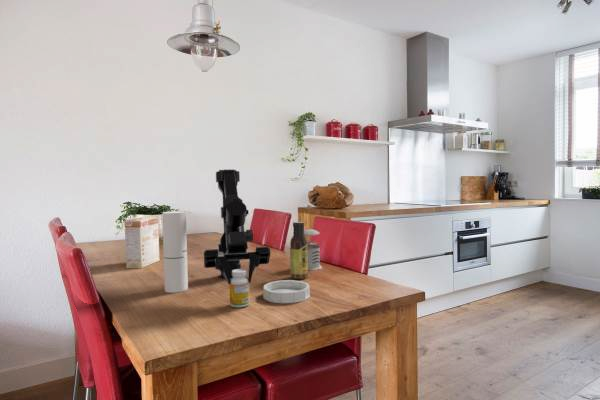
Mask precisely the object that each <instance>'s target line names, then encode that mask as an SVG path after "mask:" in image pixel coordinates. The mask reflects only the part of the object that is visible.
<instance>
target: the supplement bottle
mask: <svg viewBox="0 0 600 400" xmlns="http://www.w3.org/2000/svg"><path fill="white" fill-rule="evenodd" d="M232 276H233V278H230V284H229V305H230V306H231V308H245V307H247V306H249V304H250V283H249V279H248V277H247V269H245V268H241V269H235V270H232Z"/></svg>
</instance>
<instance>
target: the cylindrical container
mask: <svg viewBox="0 0 600 400" xmlns="http://www.w3.org/2000/svg"><path fill="white" fill-rule="evenodd" d="M187 236H188V235H187V211H179V210H177V211H176V210H175V211H163V212H162V246H163V250H162V251H163V272H164V273H163V276H164V277H163V278H164V292H166V293H168V294H169V293H174V294H175V293H181V292H185V291H187V290H188V289H189V283H188V280H189V279H188V277H189V276H188V274H189V273H188V245H187V244H188V243H187V241H188V240H187V238H188V237H187Z"/></svg>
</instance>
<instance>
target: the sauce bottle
mask: <svg viewBox="0 0 600 400" xmlns="http://www.w3.org/2000/svg"><path fill="white" fill-rule="evenodd" d="M292 227H293V236H292V237H291V239H290V243H289V244H290V248H289V255H290V256H289V265H290V266H289V268H290V269H289V270H290V278H291V279H292V280H303V279H307V278H308V272H309V270H308V244H307V242H308V241H306V239H307V238H306V236H304V230H305V222H304V221H293V222H292ZM305 238H306V239H305Z"/></svg>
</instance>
